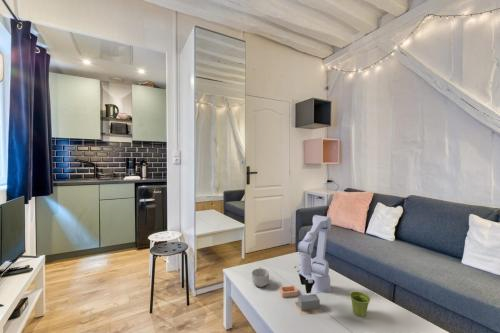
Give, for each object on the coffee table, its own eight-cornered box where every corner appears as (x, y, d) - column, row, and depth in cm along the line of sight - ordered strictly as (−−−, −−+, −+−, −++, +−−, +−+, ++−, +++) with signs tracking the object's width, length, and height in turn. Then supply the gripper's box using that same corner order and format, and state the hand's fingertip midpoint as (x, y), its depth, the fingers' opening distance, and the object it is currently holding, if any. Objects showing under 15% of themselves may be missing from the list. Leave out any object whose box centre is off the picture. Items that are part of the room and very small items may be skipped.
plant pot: (352, 304, 122) (352, 288, 122) (371, 311, 116) (372, 295, 116) (347, 314, 115) (347, 297, 115) (367, 322, 109) (367, 305, 109)
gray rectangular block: (315, 302, 124) (315, 294, 123) (319, 309, 119) (319, 299, 118) (298, 304, 122) (298, 296, 122) (301, 311, 117) (301, 302, 117)
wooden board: (315, 300, 126) (315, 299, 126) (323, 312, 116) (323, 312, 116) (294, 302, 125) (294, 302, 125) (301, 315, 115) (301, 314, 115)
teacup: (267, 290, 136) (267, 277, 136) (250, 288, 139) (250, 275, 138) (270, 277, 150) (270, 266, 150) (254, 276, 152) (254, 264, 152)
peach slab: (294, 290, 136) (294, 285, 136) (297, 296, 130) (297, 291, 130) (279, 291, 135) (279, 286, 135) (282, 298, 129) (282, 292, 129)
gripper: (294, 258, 127) (294, 281, 128) (303, 271, 112) (303, 297, 113) (306, 257, 128) (306, 280, 128) (316, 270, 113) (316, 296, 114)
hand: (305, 288), depth 121 cm, fingers open, 7 cm apart
